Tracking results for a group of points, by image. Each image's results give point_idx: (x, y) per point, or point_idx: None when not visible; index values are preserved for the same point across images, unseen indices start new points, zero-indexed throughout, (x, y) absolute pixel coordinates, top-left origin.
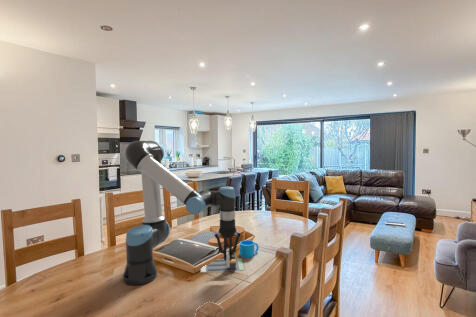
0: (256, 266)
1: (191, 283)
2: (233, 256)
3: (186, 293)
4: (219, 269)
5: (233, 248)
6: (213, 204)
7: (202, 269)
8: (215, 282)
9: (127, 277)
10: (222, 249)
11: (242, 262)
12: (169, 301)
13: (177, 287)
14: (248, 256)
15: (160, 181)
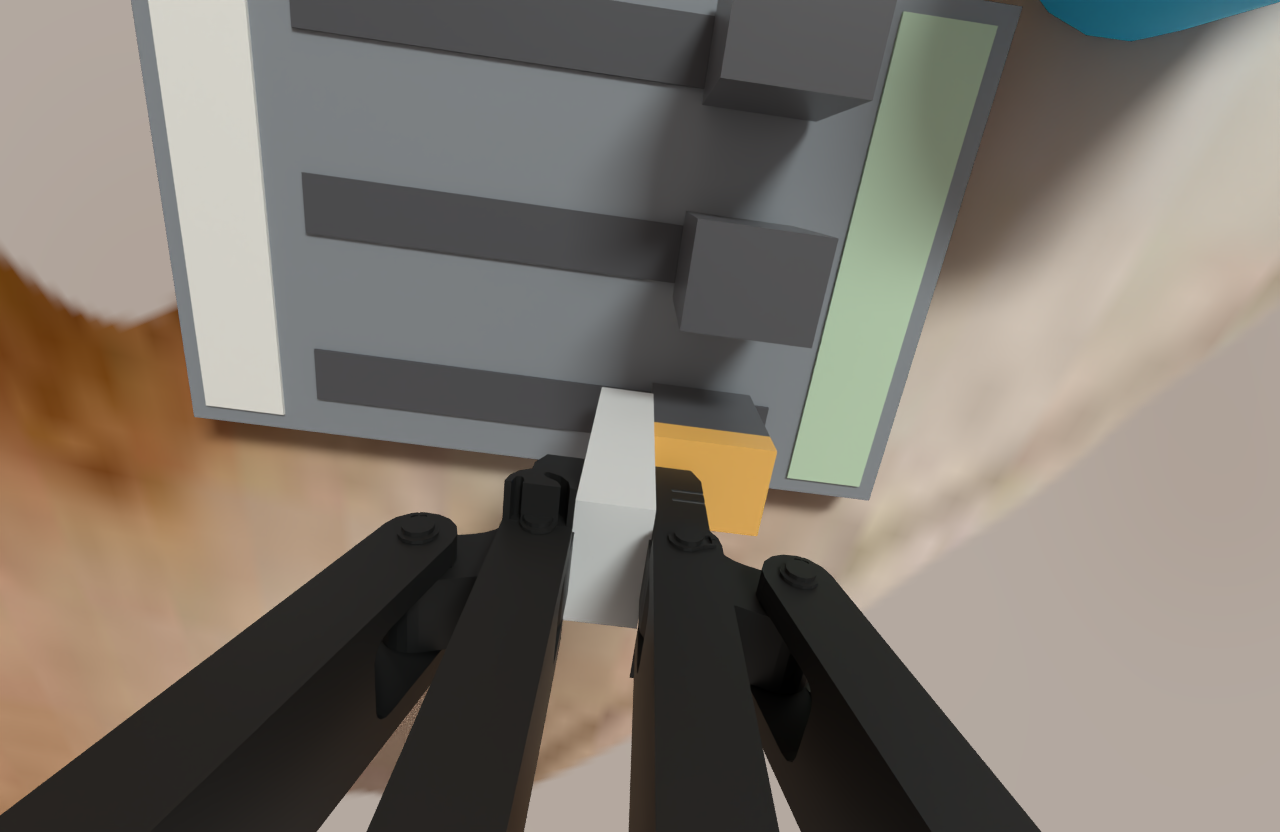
0: (1105, 325)
1: (152, 548)
2: (780, 325)
3: (146, 699)
4: (492, 395)
5: (788, 621)
6: None
7: (216, 333)
8: None
9: None
10: (442, 580)
11: (935, 234)
12: (23, 767)
13: (10, 588)
14: (1179, 19)
15: None
